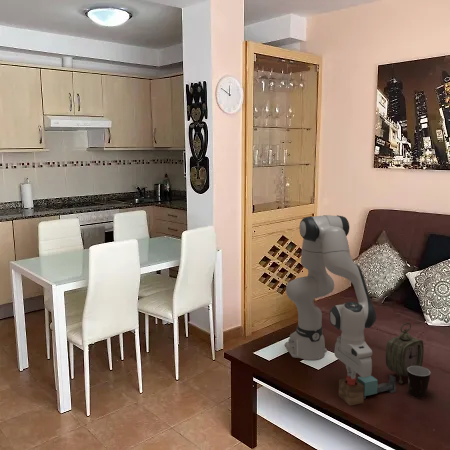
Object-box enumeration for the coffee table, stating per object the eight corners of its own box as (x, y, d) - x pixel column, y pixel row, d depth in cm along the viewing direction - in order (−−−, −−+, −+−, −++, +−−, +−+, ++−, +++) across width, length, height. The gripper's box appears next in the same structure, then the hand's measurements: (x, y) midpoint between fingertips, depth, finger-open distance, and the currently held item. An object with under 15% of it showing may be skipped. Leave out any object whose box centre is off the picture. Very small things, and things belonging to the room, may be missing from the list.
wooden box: (338, 395, 187) (339, 379, 186) (351, 392, 189) (351, 376, 188) (350, 405, 180) (350, 389, 179) (363, 402, 182) (363, 386, 181)
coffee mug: (410, 386, 193) (411, 363, 192) (431, 392, 188) (433, 369, 186) (400, 398, 185) (401, 374, 183) (423, 405, 179) (424, 381, 177)
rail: (355, 394, 187) (355, 381, 186) (389, 387, 193) (390, 373, 192) (361, 399, 184) (361, 385, 183) (396, 392, 189) (396, 378, 188)
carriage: (356, 390, 188) (357, 377, 187) (369, 387, 190) (369, 374, 189) (364, 396, 183) (364, 382, 182) (377, 393, 185) (377, 380, 184)
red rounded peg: (344, 389, 185) (344, 375, 184) (352, 387, 186) (352, 374, 185) (349, 393, 182) (350, 380, 181) (357, 392, 183) (357, 378, 182)
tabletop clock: (401, 386, 193) (404, 329, 189) (383, 377, 201) (385, 323, 197) (422, 376, 201) (425, 322, 197) (404, 368, 209) (406, 315, 204)
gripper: (330, 335, 189) (330, 367, 192) (361, 356, 170) (359, 391, 172) (344, 333, 191) (343, 364, 194) (375, 353, 172) (374, 387, 174)
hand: (351, 377), depth 183 cm, fingers closed, pressing on red rounded peg
